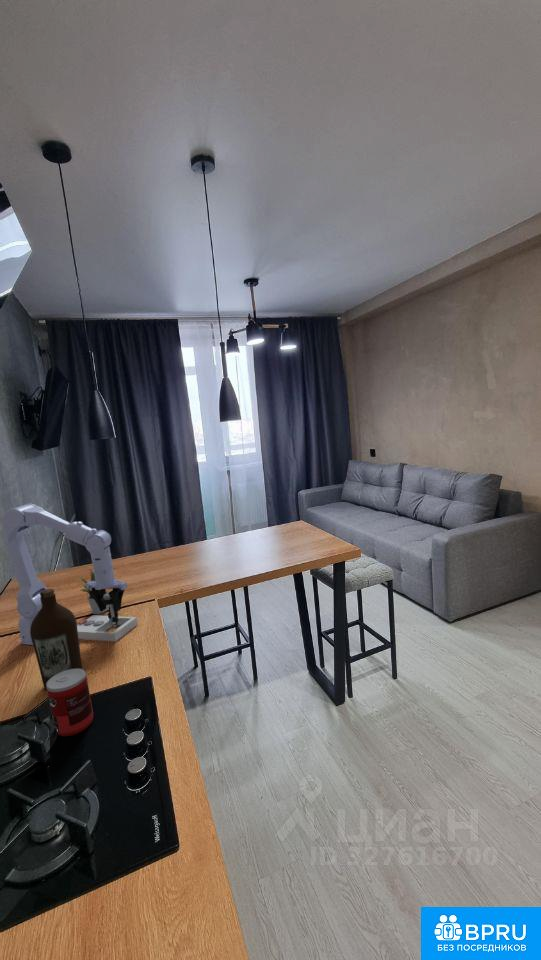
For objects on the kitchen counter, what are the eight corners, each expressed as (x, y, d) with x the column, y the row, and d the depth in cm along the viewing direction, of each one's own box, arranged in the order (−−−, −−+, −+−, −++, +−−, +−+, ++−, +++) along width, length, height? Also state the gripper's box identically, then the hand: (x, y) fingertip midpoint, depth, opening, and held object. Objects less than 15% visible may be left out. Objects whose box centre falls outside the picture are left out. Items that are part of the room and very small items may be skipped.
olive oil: (48, 675, 114) (31, 587, 111) (89, 666, 116) (73, 580, 113) (35, 699, 104) (16, 603, 101) (81, 688, 106) (63, 594, 103)
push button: (123, 626, 133) (118, 596, 132) (105, 631, 132) (100, 600, 130) (123, 618, 140) (117, 589, 138) (106, 622, 138) (100, 593, 137)
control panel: (69, 638, 135) (68, 629, 135) (94, 622, 145) (92, 613, 145) (115, 641, 129) (114, 632, 129) (137, 624, 139) (136, 615, 139)
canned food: (63, 715, 96) (54, 671, 95) (99, 710, 97) (90, 665, 95) (48, 740, 88) (38, 692, 87) (87, 733, 89) (78, 685, 88)
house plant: (132, 605, 156) (124, 563, 154) (99, 622, 145) (91, 576, 143) (107, 600, 164) (100, 560, 162) (75, 616, 152) (67, 573, 150)
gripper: (75, 574, 132) (83, 615, 134) (113, 574, 127) (121, 616, 129) (92, 566, 138) (98, 605, 140) (128, 566, 134) (135, 606, 135)
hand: (110, 610), depth 135 cm, fingers closed on push button, 5 cm apart
